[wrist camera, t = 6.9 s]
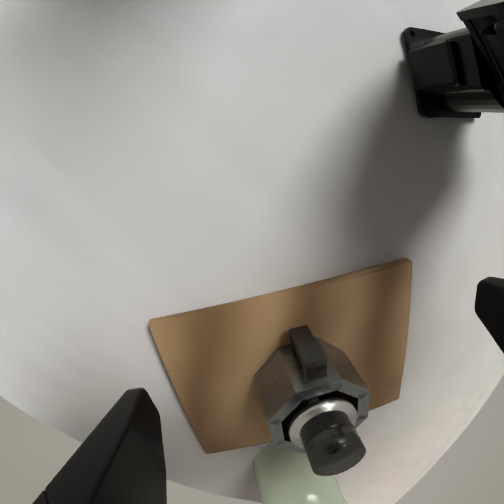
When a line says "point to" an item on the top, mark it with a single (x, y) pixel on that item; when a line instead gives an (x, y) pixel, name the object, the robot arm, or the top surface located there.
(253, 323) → the walnut board
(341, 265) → the top surface
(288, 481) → the sage mug
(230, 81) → the top surface
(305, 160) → the top surface
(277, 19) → the top surface
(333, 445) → the plunger
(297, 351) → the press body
